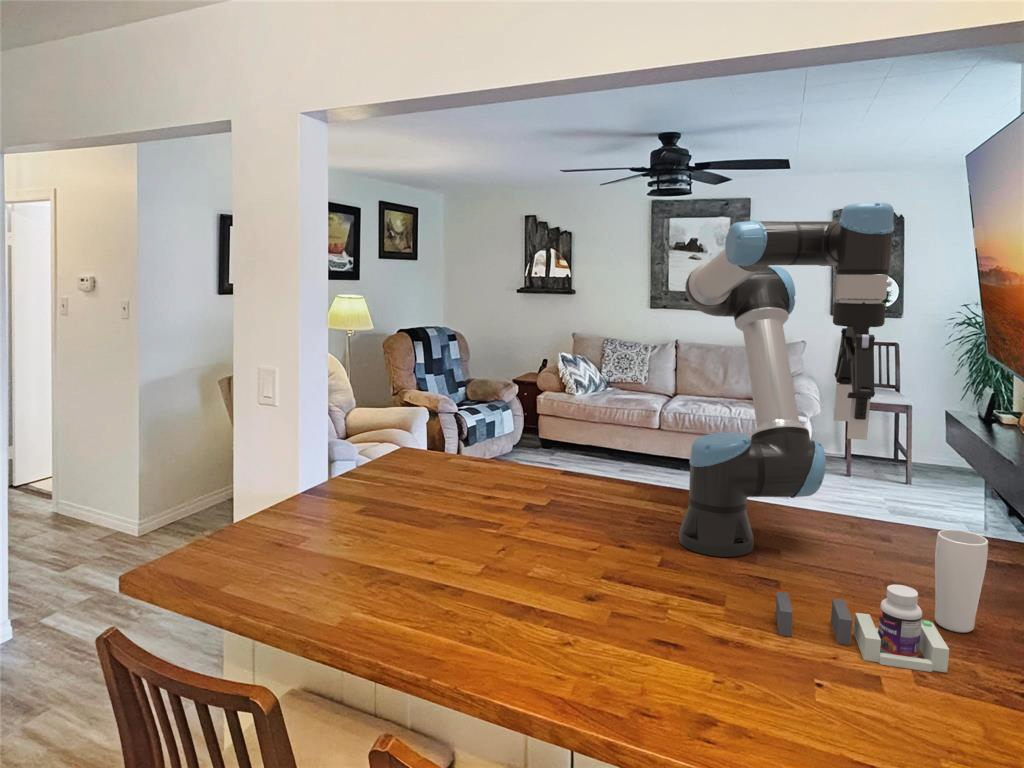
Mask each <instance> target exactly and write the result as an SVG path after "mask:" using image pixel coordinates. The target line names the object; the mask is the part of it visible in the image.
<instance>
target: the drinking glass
mask: <svg viewBox="0 0 1024 768" xmlns="http://www.w3.org/2000/svg"><path fill="white" fill-rule="evenodd" d="M988 551H989V540H988V539H987V538H986V537H984V536H982V535H980V534H977V533H975V532H972V531H971V532H970V531H965V530H961V529H942V530H939V531H937V537H936V543H935V554H934V555H935V556H934V574H935V575H934V578H935V579H934V581H935V582H934V583H935V587H934V589H935V592H934V593H935V594H934V596H935V598H934V601H935V604H934V605H935V610H934V621H935V623H936V624H938V626H940V627H942V628H944V629H946V630H948V631H950V632H955V633H963V634H964V633H970V632H971V631H973V630H974V629H975V622H976V616H977V613H978V612H977V611H978V607H979V600H980V596H981V592H982V588H983V583H984V578H985V576H986V575H985V573H986V570H987V569H986V568H987V563H988Z"/></svg>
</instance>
